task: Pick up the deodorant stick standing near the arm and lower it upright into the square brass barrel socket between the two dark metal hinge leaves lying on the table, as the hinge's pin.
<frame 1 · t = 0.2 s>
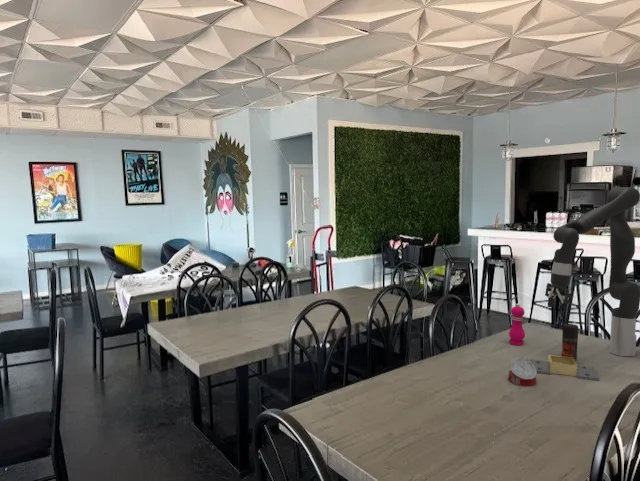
hand: (556, 309, 200), 22 cm above the table, tool pointing down, fingers open, 8 cm apart
pepper mill: (516, 343, 222), on the table
deodorant: (568, 359, 201), on the table
canned food: (522, 381, 179), on the table
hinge: (561, 370, 188), on the table
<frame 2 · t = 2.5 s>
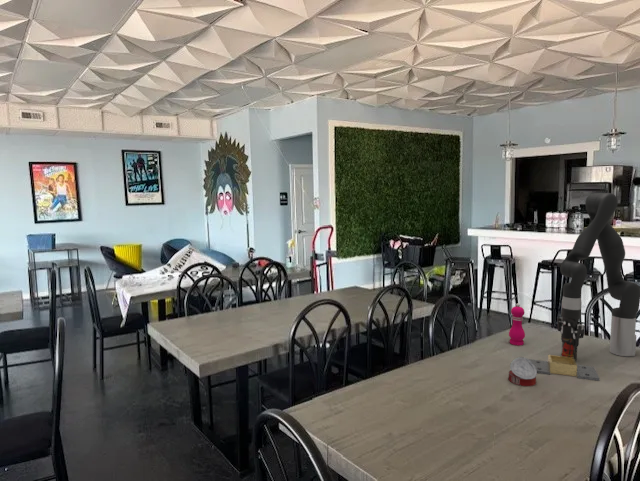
hand: (569, 344, 201), 7 cm above the table, tool pointing down, fingers closed on deodorant, 6 cm apart
deodorant: (568, 359, 201), on the table, touching gripper
everything else where it was.
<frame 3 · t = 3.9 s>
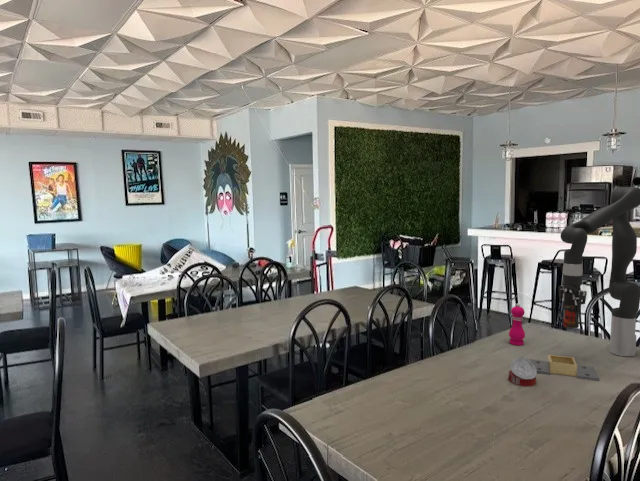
hand: (571, 311, 199), 21 cm above the table, tool pointing down, fingers closed on deodorant, 6 cm apart
deodorant: (570, 326, 200), point 15 cm above the table, touching gripper
everything else where it was.
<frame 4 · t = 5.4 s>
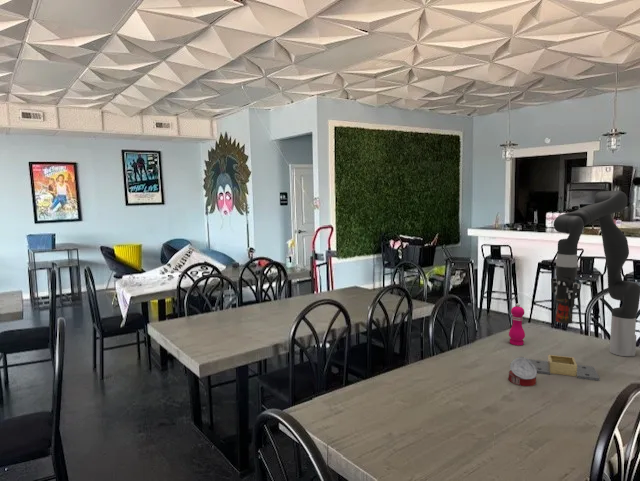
hand: (564, 305, 186), 27 cm above the table, tool pointing down, fingers closed on deodorant, 6 cm apart
deodorant: (563, 321, 186), point 21 cm above the table, touching gripper
everything else where it was.
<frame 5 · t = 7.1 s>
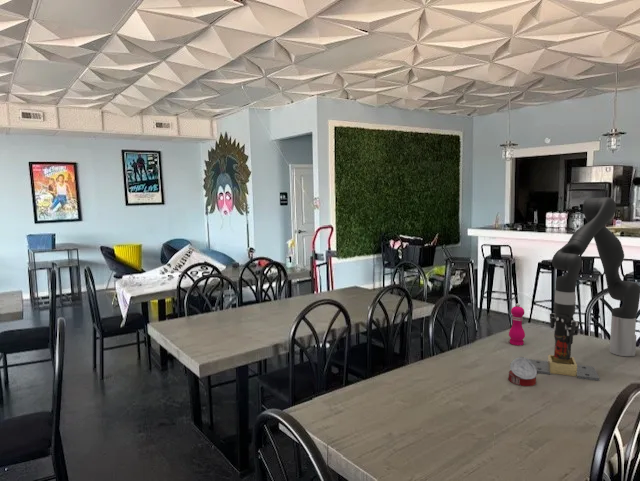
hand: (563, 341, 187), 12 cm above the table, tool pointing down, fingers closed on deodorant, 6 cm apart
deodorant: (562, 357, 188), point 5 cm above the table, touching gripper
everything else where it was.
when the fingers open (9 cm above the table, at t = 8.2 s): deodorant drops 2 cm, resting in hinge.
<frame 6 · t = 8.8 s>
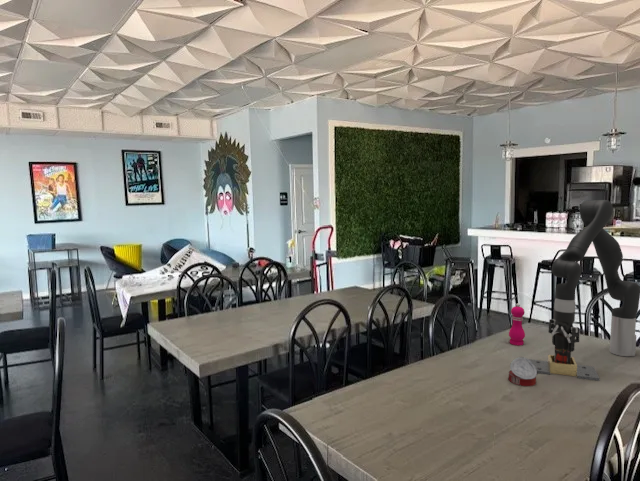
hand: (562, 347, 187), 10 cm above the table, tool pointing down, fingers open, 8 cm apart
deodorant: (561, 370, 188), resting in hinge
everything else where it was.
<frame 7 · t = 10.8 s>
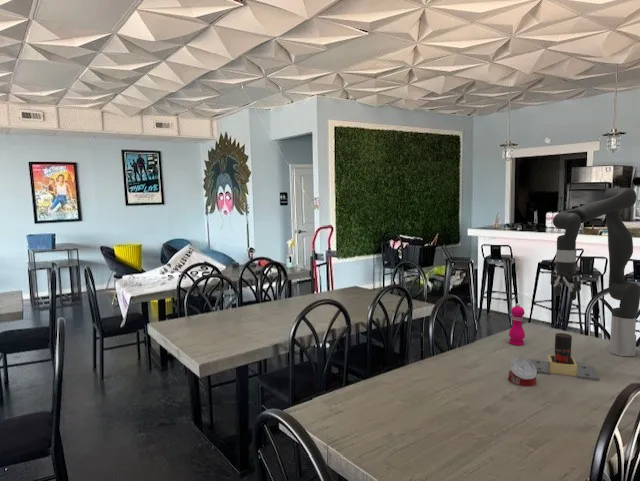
hand: (564, 297, 194), 29 cm above the table, tool pointing down, fingers open, 8 cm apart
nothing on the table moved.
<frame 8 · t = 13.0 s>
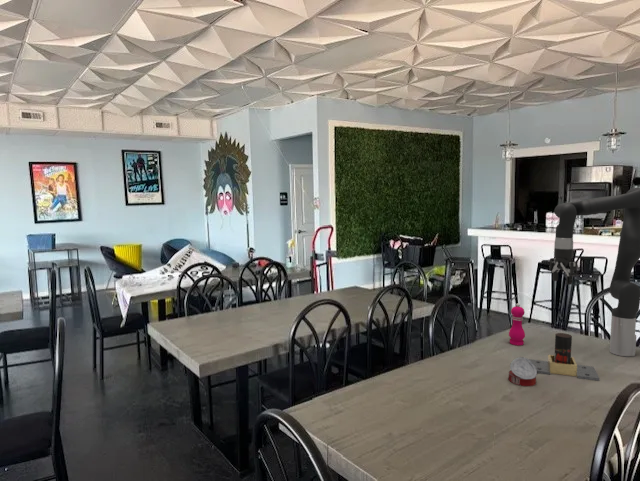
hand: (562, 282, 208), 32 cm above the table, tool pointing down, fingers open, 8 cm apart
nothing on the table moved.
at the end: deodorant 0.1 cm off-centre on the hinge, point 0.0 cm above the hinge's base; deodorant tilted 0°; the gripper is holding nothing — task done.
